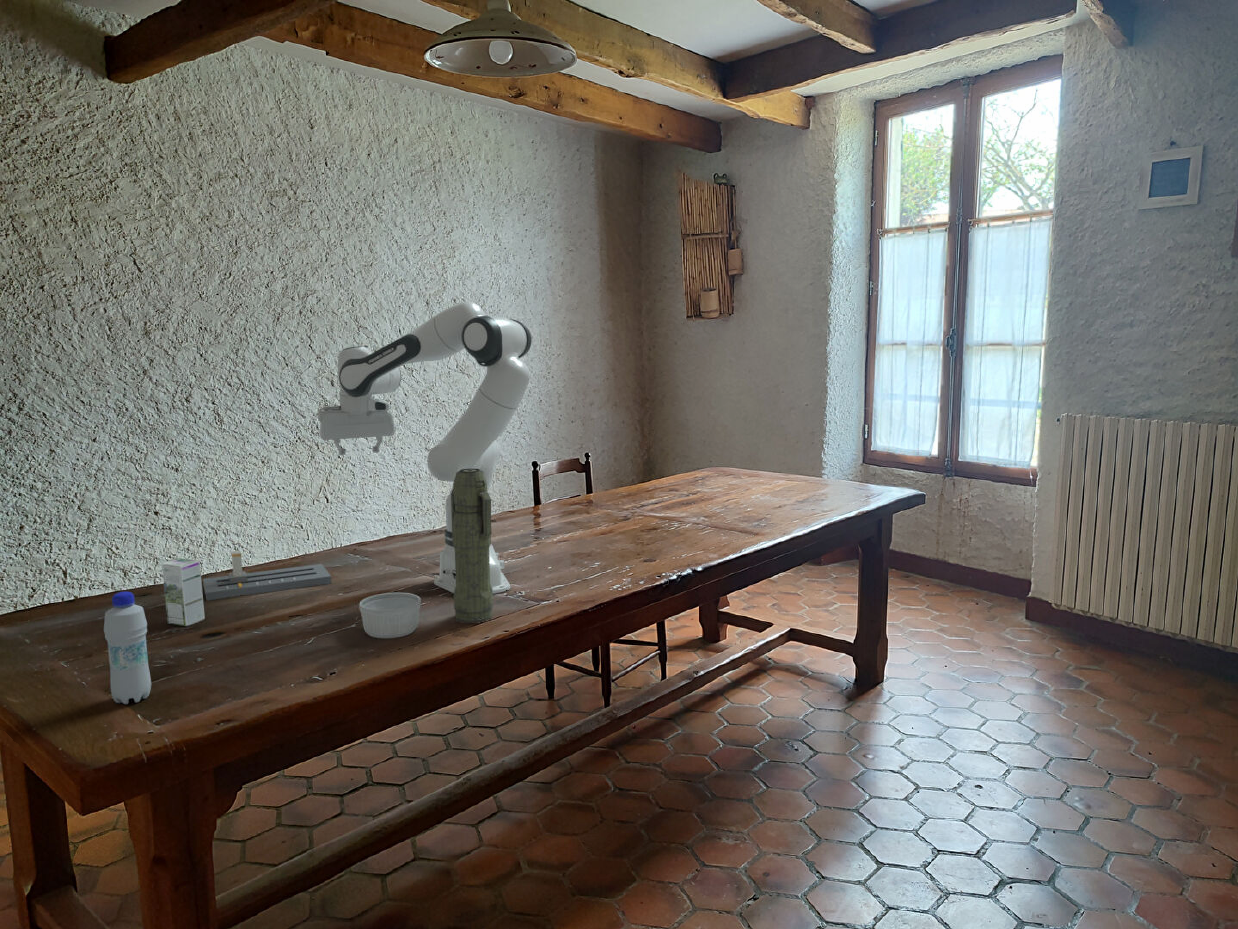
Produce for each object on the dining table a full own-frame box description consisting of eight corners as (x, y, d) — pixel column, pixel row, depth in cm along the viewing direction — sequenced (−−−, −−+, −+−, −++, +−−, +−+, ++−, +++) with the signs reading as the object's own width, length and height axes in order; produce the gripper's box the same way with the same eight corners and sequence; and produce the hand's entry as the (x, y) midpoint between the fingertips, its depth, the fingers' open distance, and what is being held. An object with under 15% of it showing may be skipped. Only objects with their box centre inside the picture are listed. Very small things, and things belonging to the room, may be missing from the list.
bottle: (122, 692, 153) (112, 587, 150) (160, 690, 153) (151, 586, 150) (103, 707, 146) (92, 598, 143) (142, 706, 147) (132, 597, 144)
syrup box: (206, 619, 193) (201, 558, 190) (185, 627, 187) (180, 565, 185) (186, 616, 194) (182, 556, 192) (165, 624, 189) (160, 562, 187)
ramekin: (398, 617, 194) (397, 588, 193) (434, 629, 186) (433, 599, 185) (348, 632, 184) (347, 602, 183) (384, 646, 176) (382, 614, 175)
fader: (247, 581, 214) (245, 553, 213) (230, 583, 213) (228, 555, 211) (245, 576, 219) (243, 549, 218) (229, 578, 217) (226, 551, 216)
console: (331, 583, 221) (331, 575, 220) (206, 600, 206) (205, 591, 206) (322, 570, 233) (321, 562, 232) (203, 586, 218) (202, 577, 218)
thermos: (481, 627, 187) (477, 474, 181) (442, 618, 193) (437, 470, 187) (506, 616, 194) (502, 469, 189) (467, 608, 200) (463, 465, 195)
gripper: (319, 407, 224) (323, 457, 226) (395, 403, 234) (397, 452, 236) (315, 406, 230) (318, 455, 232) (389, 402, 240) (391, 449, 242)
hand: (359, 453), depth 234 cm, fingers open, 8 cm apart
